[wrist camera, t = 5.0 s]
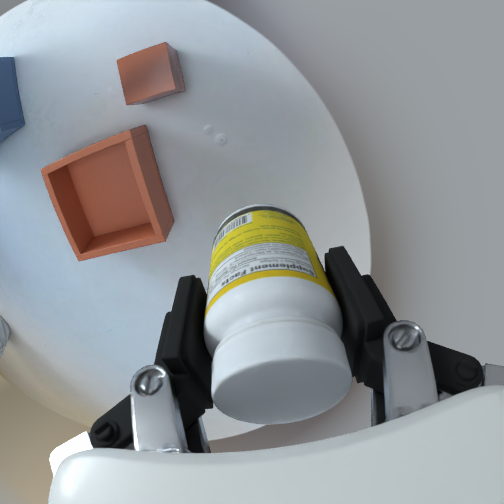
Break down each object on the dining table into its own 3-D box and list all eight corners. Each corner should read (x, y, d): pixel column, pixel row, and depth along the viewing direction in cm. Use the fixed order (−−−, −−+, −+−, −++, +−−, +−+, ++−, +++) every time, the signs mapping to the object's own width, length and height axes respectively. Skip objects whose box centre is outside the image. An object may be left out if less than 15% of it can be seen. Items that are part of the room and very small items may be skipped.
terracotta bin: (62, 158, 25) (40, 169, 21) (145, 124, 24) (129, 129, 20) (94, 241, 30) (78, 261, 26) (174, 221, 30) (165, 241, 26)
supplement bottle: (297, 285, 16) (332, 425, 8) (212, 280, 15) (200, 428, 8) (316, 205, 13) (394, 343, 6) (216, 196, 13) (191, 345, 5)
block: (133, 64, 21) (116, 60, 17) (176, 50, 20) (165, 41, 17) (142, 103, 23) (126, 105, 19) (185, 90, 23) (176, 88, 19)
